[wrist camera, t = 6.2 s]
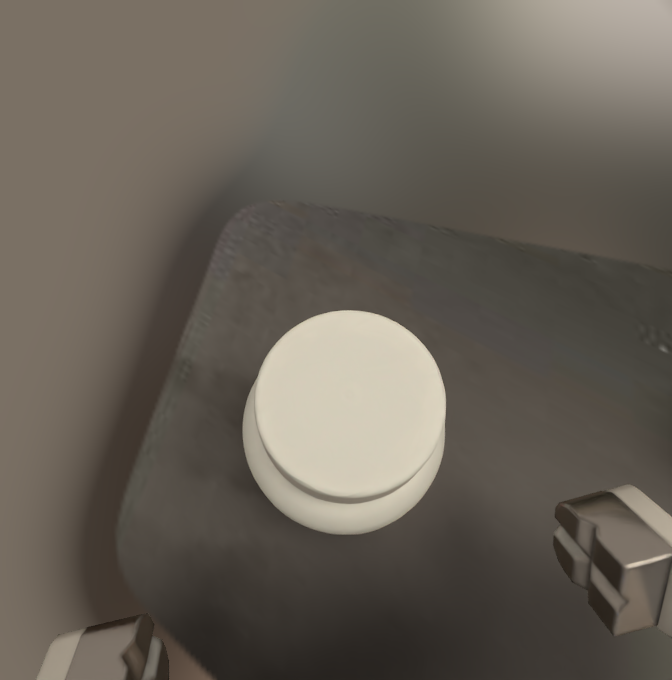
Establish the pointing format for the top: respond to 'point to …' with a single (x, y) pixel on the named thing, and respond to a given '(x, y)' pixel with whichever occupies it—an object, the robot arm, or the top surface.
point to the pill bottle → (346, 422)
